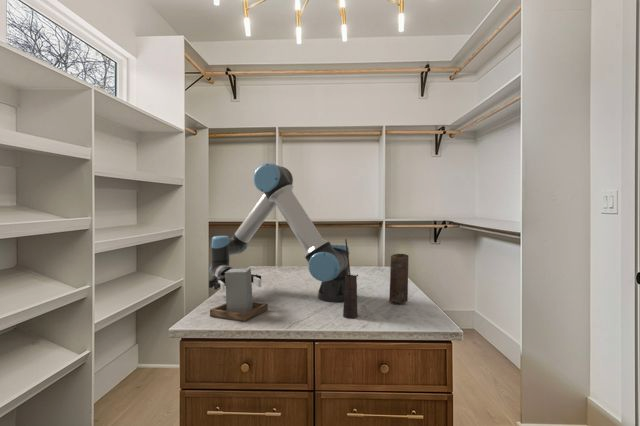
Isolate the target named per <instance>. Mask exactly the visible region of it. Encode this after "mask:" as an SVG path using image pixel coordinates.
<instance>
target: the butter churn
mask: <svg viewBox="0 0 640 426" xmlns="http://www.w3.org/2000/svg"><path fill="white" fill-rule="evenodd" d="M345 245H346V251H347V260H348V269H349V275H346V276H345V285H344V286H345V288H344V289H345V290H344V301H343V309H342V310H343V313H342V316H343V317H344V318H347V319H355V318H357V317H358V281H357V280H358V279H357V278H358V277H359V274H356V275H355V274H352V273H351V266H350V256H349V257H348V248H349V246H348V240H347V239H346V238H345ZM347 246H348V247H347Z"/></svg>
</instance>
